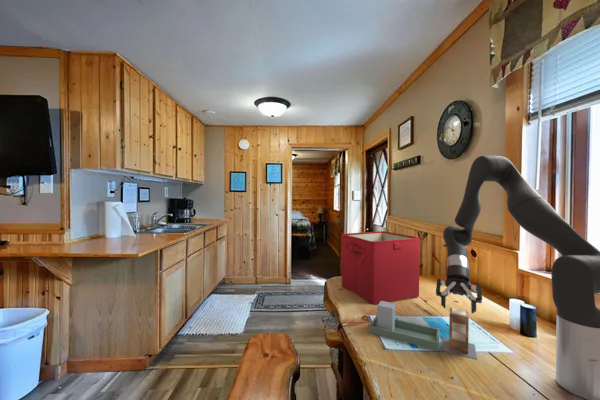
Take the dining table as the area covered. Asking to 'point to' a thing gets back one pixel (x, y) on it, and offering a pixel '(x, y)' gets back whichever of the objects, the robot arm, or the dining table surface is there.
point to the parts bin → (409, 333)
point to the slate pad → (470, 351)
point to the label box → (458, 330)
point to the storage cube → (380, 266)
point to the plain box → (386, 315)
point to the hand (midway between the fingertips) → (458, 309)
